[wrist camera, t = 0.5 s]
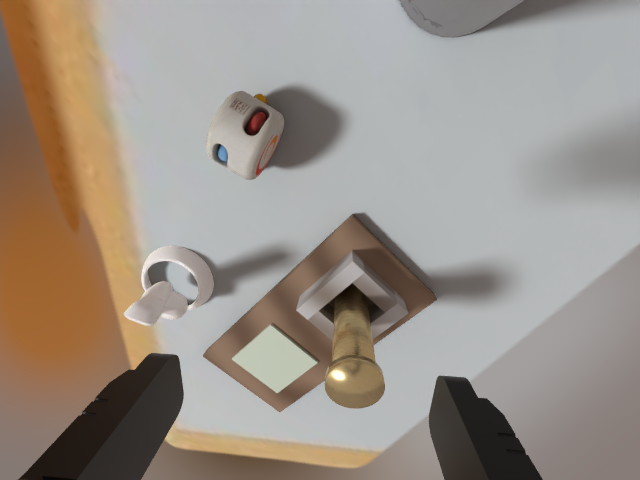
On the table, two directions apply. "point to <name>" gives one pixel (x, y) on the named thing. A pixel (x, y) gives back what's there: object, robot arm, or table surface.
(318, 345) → the walnut board
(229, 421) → the table surface
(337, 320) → the brass peg
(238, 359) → the sage pad
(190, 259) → the white vr controller
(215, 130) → the roller toy
